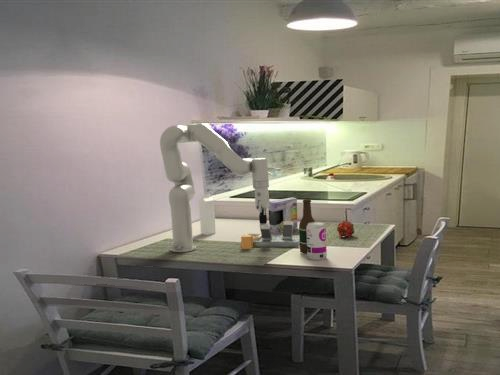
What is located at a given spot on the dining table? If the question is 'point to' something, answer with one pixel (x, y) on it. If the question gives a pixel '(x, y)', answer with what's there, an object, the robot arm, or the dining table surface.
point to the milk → (207, 215)
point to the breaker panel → (274, 241)
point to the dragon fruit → (345, 229)
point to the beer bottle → (305, 225)
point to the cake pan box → (282, 214)
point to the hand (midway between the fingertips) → (263, 223)
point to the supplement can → (316, 241)
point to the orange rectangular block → (247, 241)
